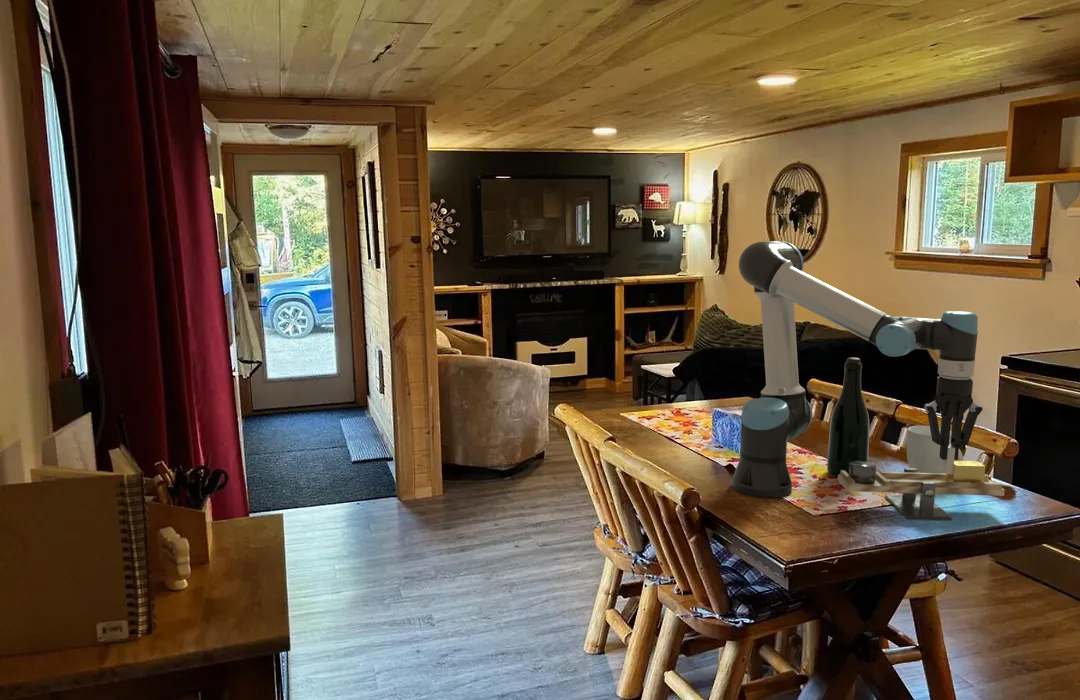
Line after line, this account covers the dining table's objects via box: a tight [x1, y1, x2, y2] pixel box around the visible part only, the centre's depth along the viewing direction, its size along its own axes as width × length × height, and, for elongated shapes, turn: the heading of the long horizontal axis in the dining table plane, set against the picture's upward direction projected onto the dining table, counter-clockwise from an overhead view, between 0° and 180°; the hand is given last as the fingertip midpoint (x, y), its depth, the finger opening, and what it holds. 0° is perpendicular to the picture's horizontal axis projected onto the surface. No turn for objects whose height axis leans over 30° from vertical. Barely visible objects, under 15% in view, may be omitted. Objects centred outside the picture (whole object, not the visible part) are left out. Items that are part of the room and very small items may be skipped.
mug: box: [906, 425, 964, 473], centre depth 211 cm, size 15×11×13 cm
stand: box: [884, 467, 953, 522], centre depth 189 cm, size 10×15×8 cm, turn 175°
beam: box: [837, 470, 1006, 497], centre depth 188 cm, size 36×8×3 cm, turn 85°
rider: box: [946, 460, 986, 483], centre depth 187 cm, size 7×4×5 cm, turn 85°
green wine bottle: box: [826, 356, 870, 478], centre depth 213 cm, size 10×10×33 cm
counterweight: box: [849, 461, 877, 484], centre depth 189 cm, size 6×6×4 cm
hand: (947, 472), depth 187 cm, fingers closed
